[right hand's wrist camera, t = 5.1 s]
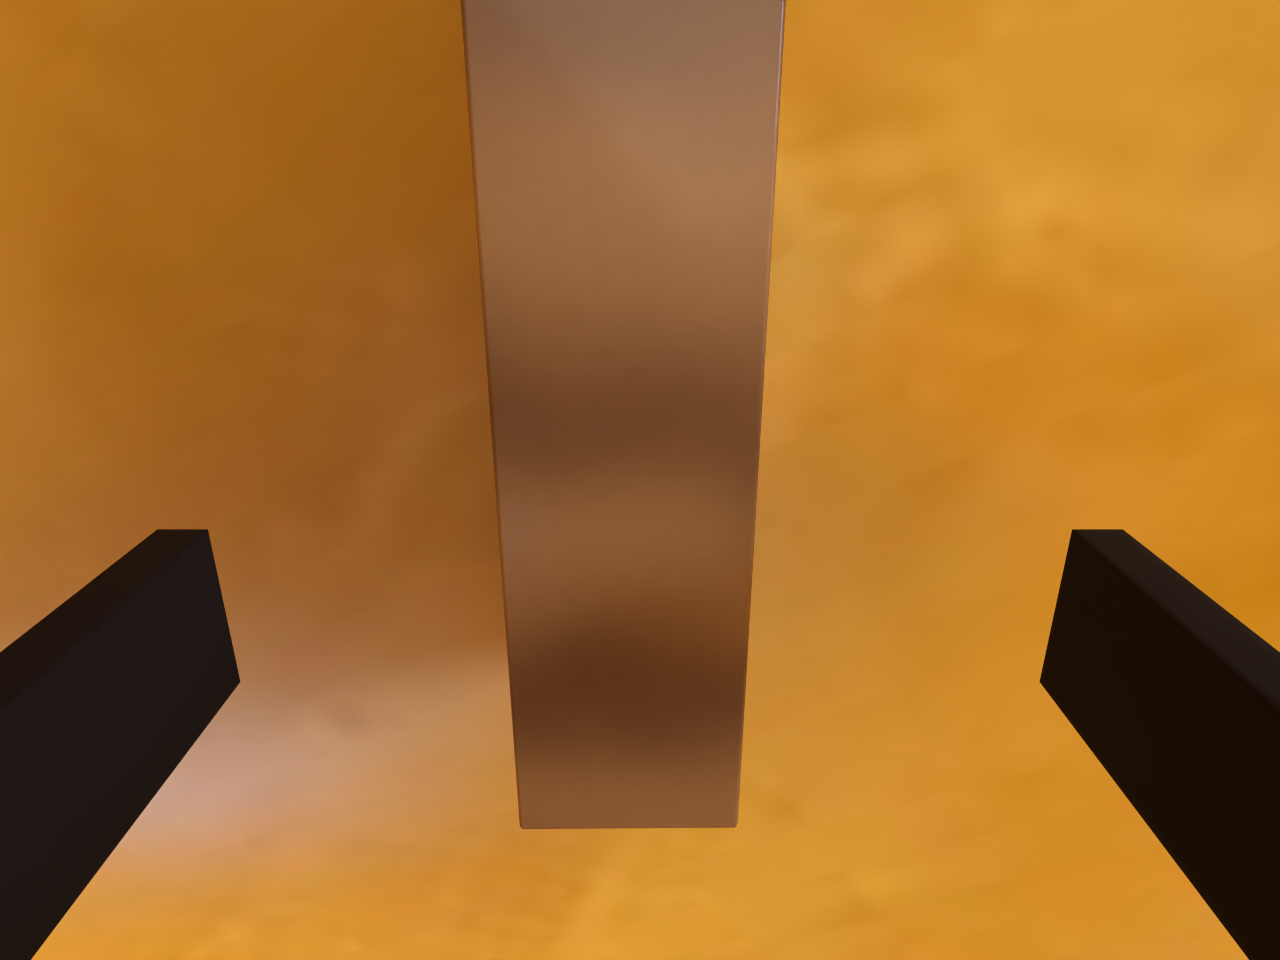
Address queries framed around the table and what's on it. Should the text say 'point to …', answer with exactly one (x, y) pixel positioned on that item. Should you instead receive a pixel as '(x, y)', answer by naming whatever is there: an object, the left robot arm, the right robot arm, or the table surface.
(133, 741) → the right robot arm
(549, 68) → the beam
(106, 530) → the table surface
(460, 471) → the table surface
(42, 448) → the table surface
